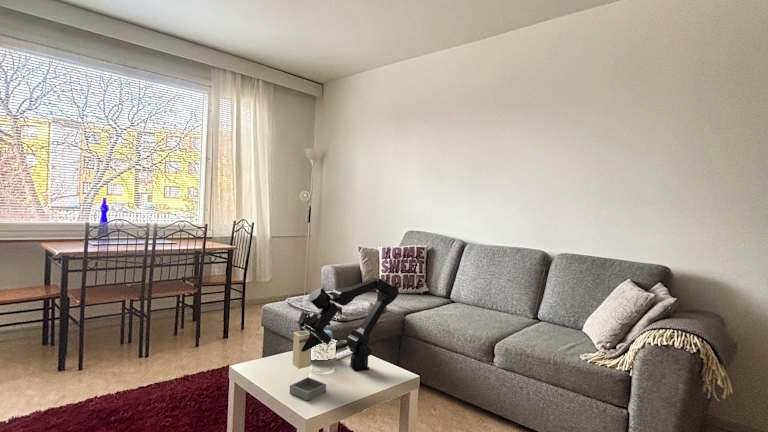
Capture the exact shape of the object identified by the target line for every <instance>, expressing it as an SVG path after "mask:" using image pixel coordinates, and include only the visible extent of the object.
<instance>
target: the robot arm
mask: <svg viewBox="0 0 768 432" xmlns="http://www.w3.org/2000/svg"><path fill="white" fill-rule="evenodd" d="M373 290H377V294H376V295H377V298H376V301H375V302H374V304H373V305H372V307H371V309H370V311H369V313H368V314H367V316H366V317H365V318H364V320H363V322H362V324H361V325H360V327H359V328H357V329H352V330H351V332H350V334H349V335H348V336H347V338H348V339H347V341H346V343H347V347H348V349H349V351H350V352H351V356H350V363H349V367H350V368H352V370H353V371H354V372H359V371H367V370H369V369H370V367H369V365H368V364H369V356H370V357H371V354H372V349H371V348H370V347H369V346H368V344H369V342H370V335H371V332H372V331H373V329H374V327H375V326H376V325H377V323H378V321H379V319H380V317H381V316H382V315H383V313H384V312H385V310H386V308H387V307H388V306H389V305H390V304H392V303H393V302H394V301H395V300H396V299H397V297H398V296H399V288H398V287H397V286H396V285H393V284H390V283H388V282H386V281H384V280H383V279H381V278H379V277H374V276H373V277H371V278H370V279H367V280H364V281H362V282H360V283H357V284H354V285H351V286H349V287H347V286H346V287H339V288H335V289H333V290H332V291H330V292H326V290H325V289H324V288H323V287H321V286H320V287H319V288H317V289H314V290H313V291H311V292H310V294H309V295H308V301H309V302H310V303H311V304H312V305H313V306H314V307H315V308H316V309H317V310H319V312H315V313H313V312H311V313H308V312H305V311H304V310H302V311H301V314H300V316H299V318H298V320H297V322H296V324H297V325H298V326H299V327H298V328H299V331H304V330H306V331H307V332H309V333H310V337H309V339H308V341H307V342H306V343H305V345H304V346H303V348H302V350H301V351H302V352H304V351H306V350H308V349H310V348H312V347H314V346H316V345H318V344H322V343H323V342H324V343H326V344H327V345H328V344H329V342H330V341H331V337H330V336H329V335H328V334H327V333H326V332H325V331H324V330H326V328H327V326H328V327H331V323H330V322H331V321H332V320H333V319H334V318H335V316H336V315H337V314H339V315H343V307H344V306H346V305H348V304H350V303H351V302H353V301H354V300H355V298H357V297H359V296H361V295H364V294H367V293H369V292H371V291H373ZM337 304H338V305H340V306H338V305H337ZM341 306H343V307H341ZM311 332H312V333H314V334H312V333H311ZM322 341H323V342H322Z"/></svg>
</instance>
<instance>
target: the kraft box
mask: <svg viewBox="0 0 768 432" xmlns="http://www.w3.org/2000/svg"><path fill="white" fill-rule="evenodd" d="M309 337H310V333H309V332H307V331H306V330H304V331H300V330H299V331H294V332H293V339H292V340H293V346H292V365H293V366H294V367H295V368H297V369H298V370H300V369H304V368H309V367H311V366H312V362H311V348H310V349H308V350H306V351H304V352H302V351H301V350H302V348H303V346H304V345H305V343H306V342H307V341H308V339H309Z"/></svg>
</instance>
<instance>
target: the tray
mask: <svg viewBox="0 0 768 432" xmlns="http://www.w3.org/2000/svg"><path fill="white" fill-rule="evenodd" d="M326 392H327V384H326V383H324V382H321V381H319V380H316V379H313V378H311V377H305V378H303V379H301V380H298V381H297V382H295V383H292V384H290V385H289V394H290V395H292V396H294V397H298V398H299V399H302V400H304V401H306V402H310V401H311V400H314V399H316V398H317V397H319V396H322V395H323V394H325V393H326Z"/></svg>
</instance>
